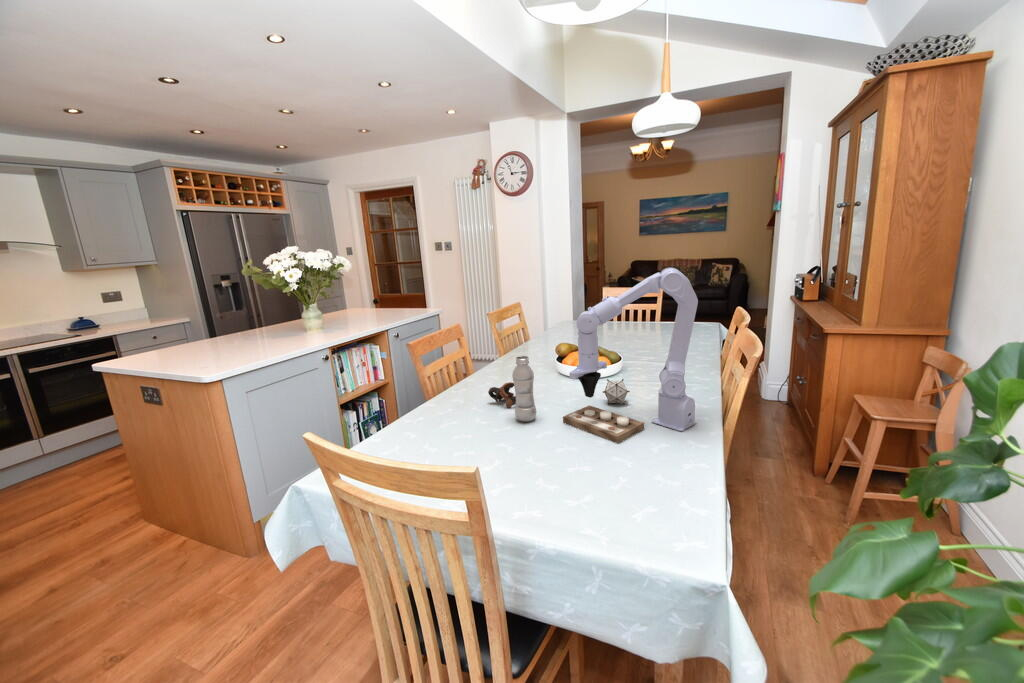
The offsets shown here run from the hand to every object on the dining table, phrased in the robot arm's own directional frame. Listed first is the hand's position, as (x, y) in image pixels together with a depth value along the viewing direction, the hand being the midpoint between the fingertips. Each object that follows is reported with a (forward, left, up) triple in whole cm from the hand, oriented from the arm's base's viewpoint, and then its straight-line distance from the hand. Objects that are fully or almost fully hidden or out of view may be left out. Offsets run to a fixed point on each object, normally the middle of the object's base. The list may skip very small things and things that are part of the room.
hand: (589, 396), depth 131 cm
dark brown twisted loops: (+30, +9, -8) cm, 32 cm away
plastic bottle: (+14, +14, -8) cm, 21 cm away
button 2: (-12, 0, -6) cm, 13 cm away
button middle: (-6, 0, -6) cm, 8 cm away
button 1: (0, 0, -7) cm, 7 cm away
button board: (-6, +2, -7) cm, 10 cm away
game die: (+2, -15, -8) cm, 17 cm away
